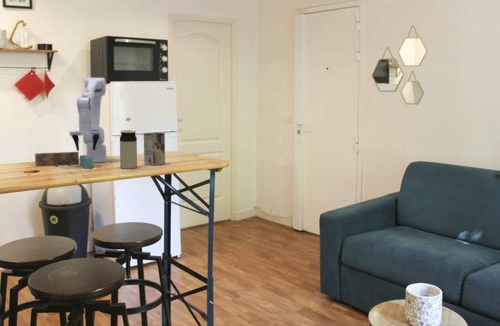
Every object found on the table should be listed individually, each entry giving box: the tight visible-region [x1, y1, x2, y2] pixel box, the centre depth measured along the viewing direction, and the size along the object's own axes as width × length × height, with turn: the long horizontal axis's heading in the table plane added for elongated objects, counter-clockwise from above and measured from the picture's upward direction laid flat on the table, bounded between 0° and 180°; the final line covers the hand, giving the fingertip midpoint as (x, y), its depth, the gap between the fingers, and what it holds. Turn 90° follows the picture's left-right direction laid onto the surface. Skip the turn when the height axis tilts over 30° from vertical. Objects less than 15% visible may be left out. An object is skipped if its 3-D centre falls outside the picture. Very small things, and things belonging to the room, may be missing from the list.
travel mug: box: [119, 129, 138, 170], centre depth 250 cm, size 8×8×18 cm
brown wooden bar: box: [34, 151, 80, 168], centre depth 253 cm, size 20×6×6 cm, turn 118°
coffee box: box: [143, 132, 166, 167], centre depth 262 cm, size 9×6×16 cm
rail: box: [79, 154, 94, 170], centre depth 252 cm, size 3×15×5 cm, turn 29°
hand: (86, 150), depth 251 cm, fingers open, 7 cm apart
